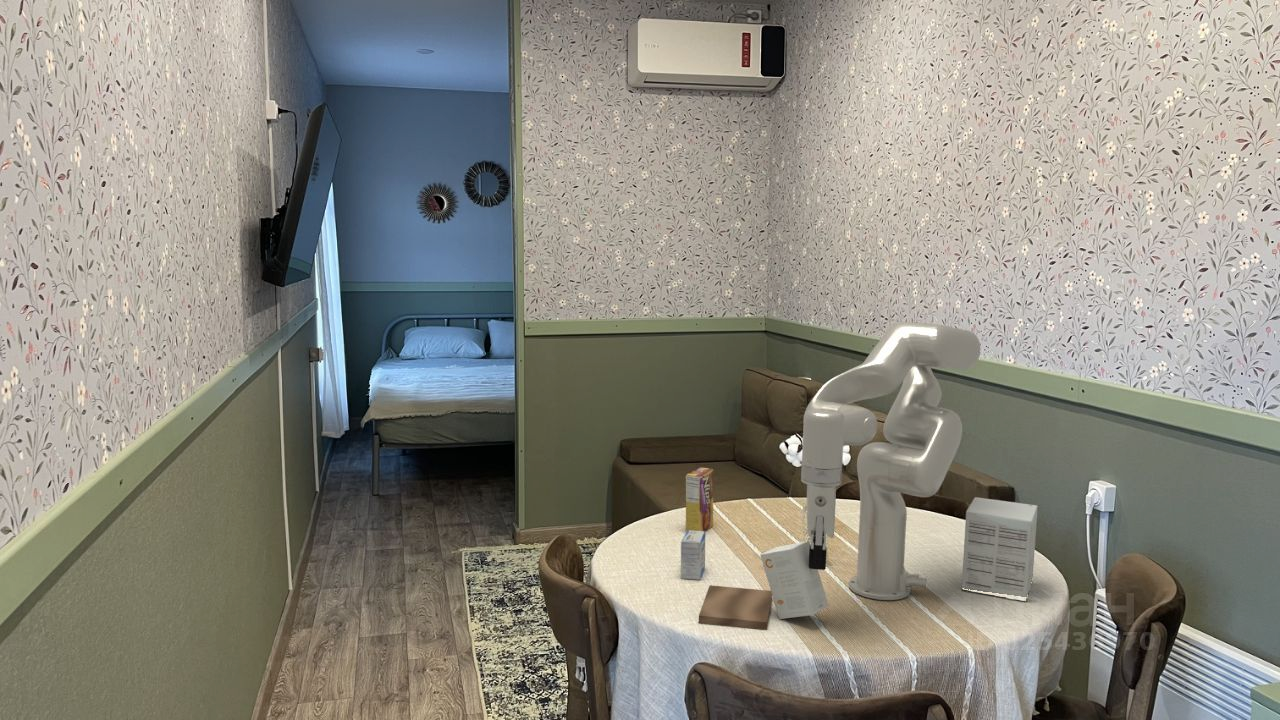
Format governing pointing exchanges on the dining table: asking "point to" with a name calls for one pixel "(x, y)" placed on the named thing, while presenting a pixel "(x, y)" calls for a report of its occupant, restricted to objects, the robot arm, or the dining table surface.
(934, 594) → the dining table surface
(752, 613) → the walnut board
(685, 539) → the medicine box
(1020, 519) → the supplement box
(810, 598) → the small box
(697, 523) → the candy box
